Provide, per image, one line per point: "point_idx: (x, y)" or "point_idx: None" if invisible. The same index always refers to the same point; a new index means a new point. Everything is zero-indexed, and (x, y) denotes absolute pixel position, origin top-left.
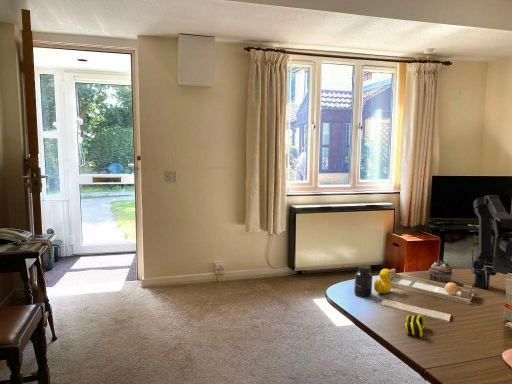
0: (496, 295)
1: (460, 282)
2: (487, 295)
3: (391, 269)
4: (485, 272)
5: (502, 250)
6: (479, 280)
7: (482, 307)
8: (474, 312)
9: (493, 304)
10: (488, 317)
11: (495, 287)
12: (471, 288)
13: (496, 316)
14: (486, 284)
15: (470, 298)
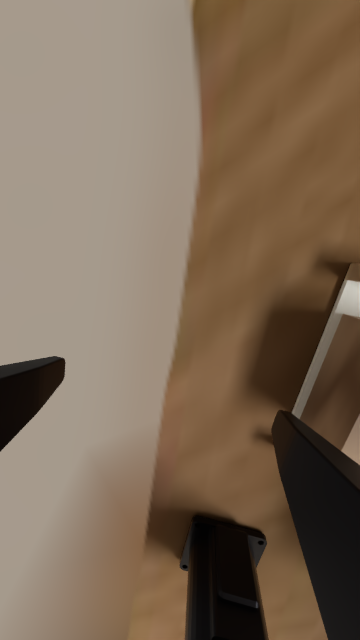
0: (170, 468)
1: None
2: (212, 454)
3: None
4: None
5: None
6: (246, 582)
7: (273, 266)
8: (348, 141)
9: (203, 343)
10: (273, 92)
11: (162, 554)
12: (350, 426)
13: (218, 146)
14: (278, 435)
15: (318, 372)
